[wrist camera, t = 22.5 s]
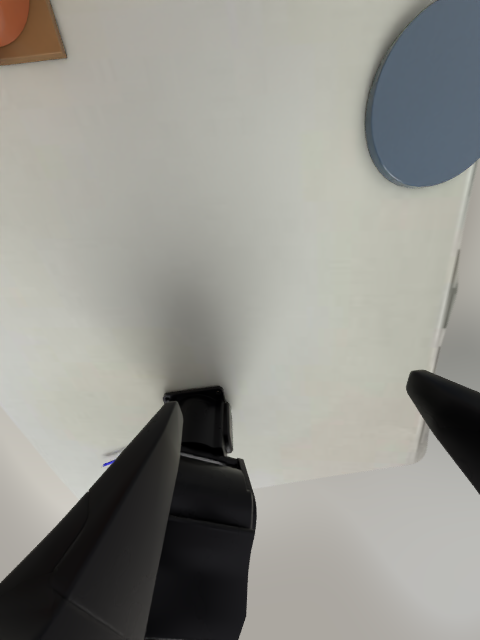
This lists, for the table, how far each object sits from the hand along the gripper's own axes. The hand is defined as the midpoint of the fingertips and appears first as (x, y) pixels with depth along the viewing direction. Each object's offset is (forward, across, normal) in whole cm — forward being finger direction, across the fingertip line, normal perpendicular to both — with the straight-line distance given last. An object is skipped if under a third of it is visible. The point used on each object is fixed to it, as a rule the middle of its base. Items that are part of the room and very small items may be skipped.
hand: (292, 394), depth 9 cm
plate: (+14, -14, -11) cm, 22 cm away
